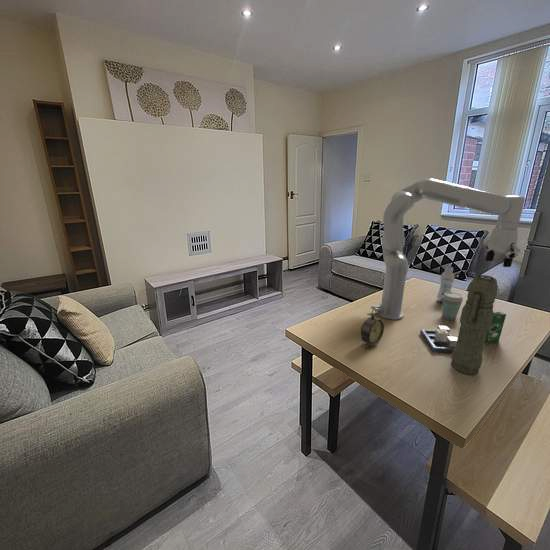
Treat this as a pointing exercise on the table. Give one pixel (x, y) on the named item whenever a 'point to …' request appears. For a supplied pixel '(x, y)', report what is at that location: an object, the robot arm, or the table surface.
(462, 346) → the thermos
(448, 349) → the panel
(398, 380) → the table surface
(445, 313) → the coffee cup
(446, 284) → the plastic bottle
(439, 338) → the block
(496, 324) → the coffee box
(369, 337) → the alarm clock
